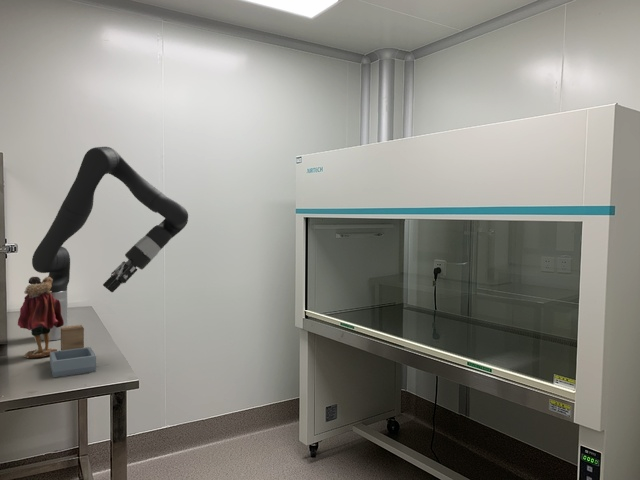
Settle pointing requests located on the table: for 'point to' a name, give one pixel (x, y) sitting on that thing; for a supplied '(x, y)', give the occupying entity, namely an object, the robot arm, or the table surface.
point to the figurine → (40, 314)
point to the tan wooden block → (72, 337)
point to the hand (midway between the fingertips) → (107, 288)
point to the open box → (72, 361)
